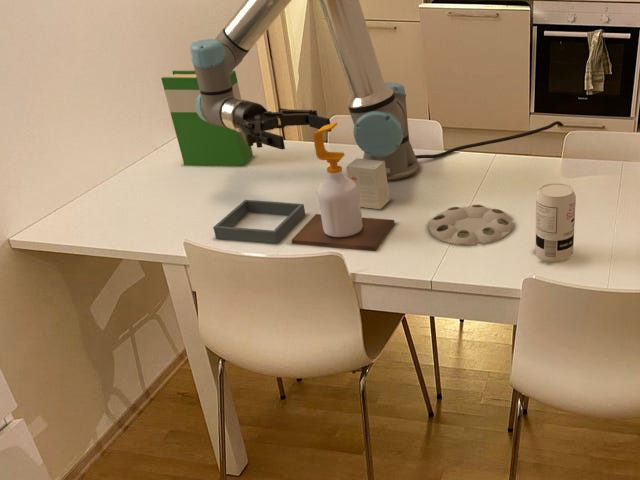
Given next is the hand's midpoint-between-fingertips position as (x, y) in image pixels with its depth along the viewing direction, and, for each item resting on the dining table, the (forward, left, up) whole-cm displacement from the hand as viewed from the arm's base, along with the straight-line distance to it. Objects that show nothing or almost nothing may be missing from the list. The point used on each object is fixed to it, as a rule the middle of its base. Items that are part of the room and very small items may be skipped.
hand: (306, 134), depth 167 cm
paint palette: (-33, +13, -22) cm, 42 cm away
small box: (-13, -8, -22) cm, 27 cm away
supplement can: (-46, +33, -22) cm, 61 cm away
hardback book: (+23, -53, -22) cm, 62 cm away
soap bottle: (-4, +6, -21) cm, 23 cm away
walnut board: (-4, +7, -22) cm, 23 cm away
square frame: (+14, -4, -22) cm, 26 cm away
